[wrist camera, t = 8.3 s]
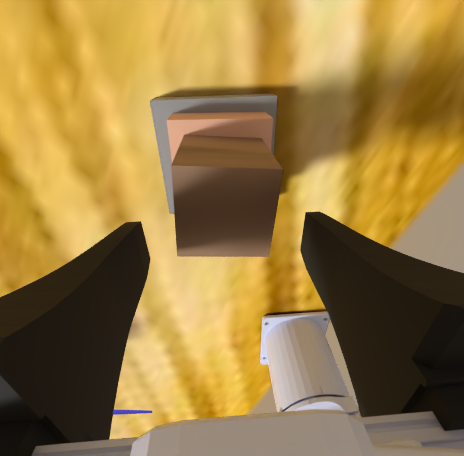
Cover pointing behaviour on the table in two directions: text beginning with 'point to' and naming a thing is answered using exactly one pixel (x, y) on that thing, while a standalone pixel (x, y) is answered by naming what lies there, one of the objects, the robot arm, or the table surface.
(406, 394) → the robot arm
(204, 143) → the walnut block
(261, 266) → the table surface
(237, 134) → the terracotta cap
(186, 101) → the gray slab
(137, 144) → the table surface
